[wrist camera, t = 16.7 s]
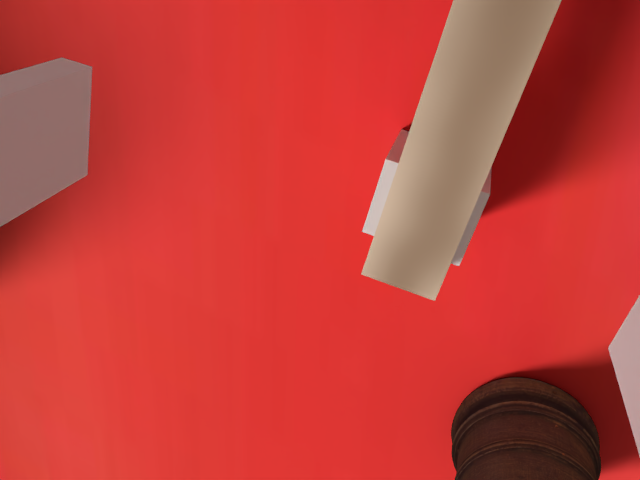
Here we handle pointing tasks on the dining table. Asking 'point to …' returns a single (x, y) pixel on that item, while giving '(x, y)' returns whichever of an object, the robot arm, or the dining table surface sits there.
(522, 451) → the container
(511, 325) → the dining table surface
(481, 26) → the beige tapered bar
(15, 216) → the robot arm
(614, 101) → the dining table surface
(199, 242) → the dining table surface
